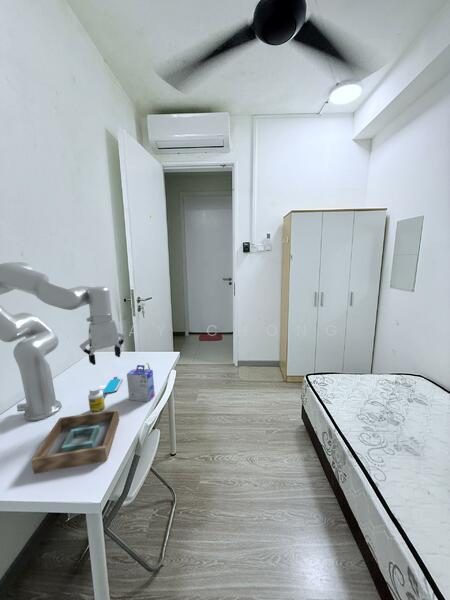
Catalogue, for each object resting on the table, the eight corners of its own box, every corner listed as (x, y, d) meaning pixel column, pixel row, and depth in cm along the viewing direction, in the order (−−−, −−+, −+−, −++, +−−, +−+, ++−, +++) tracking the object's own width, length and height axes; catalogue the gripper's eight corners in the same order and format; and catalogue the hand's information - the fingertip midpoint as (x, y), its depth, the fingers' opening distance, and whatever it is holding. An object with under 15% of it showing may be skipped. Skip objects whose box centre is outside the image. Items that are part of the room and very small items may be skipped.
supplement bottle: (88, 415, 102) (85, 392, 100) (92, 407, 107) (88, 386, 105) (103, 412, 103) (100, 390, 101) (106, 405, 108) (103, 383, 107)
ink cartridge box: (155, 395, 115) (152, 364, 112) (149, 402, 110) (146, 370, 107) (135, 393, 117) (132, 363, 114) (128, 400, 112) (125, 369, 109)
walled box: (34, 473, 75) (31, 460, 74) (61, 428, 94) (59, 417, 94) (107, 460, 79) (105, 447, 78) (119, 419, 98) (118, 409, 98)
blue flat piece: (102, 379, 133) (102, 376, 132) (126, 377, 134) (126, 374, 134) (87, 401, 113) (86, 397, 113) (115, 398, 114) (115, 394, 114)
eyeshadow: (140, 371, 139) (139, 362, 138) (149, 369, 141) (148, 360, 140) (141, 374, 135) (140, 365, 134) (150, 372, 137) (150, 363, 136)
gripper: (80, 325, 92) (86, 369, 95) (127, 316, 104) (130, 356, 107) (73, 321, 97) (79, 364, 100) (118, 313, 109) (122, 351, 112)
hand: (105, 359), depth 103 cm, fingers open, 9 cm apart
